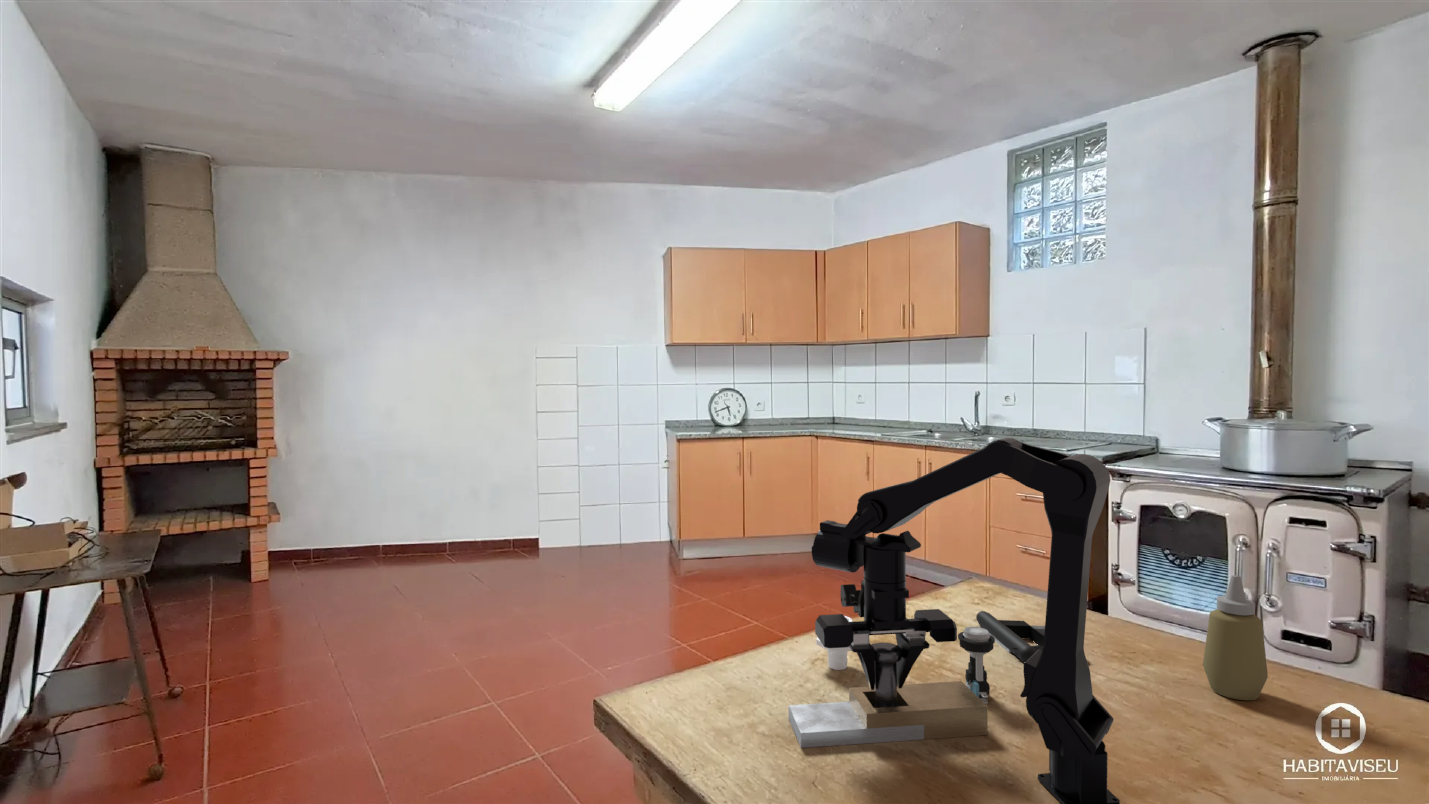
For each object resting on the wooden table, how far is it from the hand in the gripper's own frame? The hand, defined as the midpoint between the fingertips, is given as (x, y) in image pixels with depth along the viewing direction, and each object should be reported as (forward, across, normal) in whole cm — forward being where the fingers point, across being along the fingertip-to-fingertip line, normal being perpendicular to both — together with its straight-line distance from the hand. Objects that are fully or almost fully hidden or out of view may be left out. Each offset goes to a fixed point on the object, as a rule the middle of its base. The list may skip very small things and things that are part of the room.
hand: (885, 688), depth 99 cm
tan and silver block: (+6, 0, 0) cm, 6 cm away
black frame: (+6, -37, -26) cm, 46 cm away
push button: (+6, -17, -7) cm, 19 cm away
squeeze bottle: (+6, -56, -3) cm, 56 cm away
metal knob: (+6, 0, 0) cm, 6 cm away
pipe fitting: (+6, +1, -21) cm, 22 cm away
